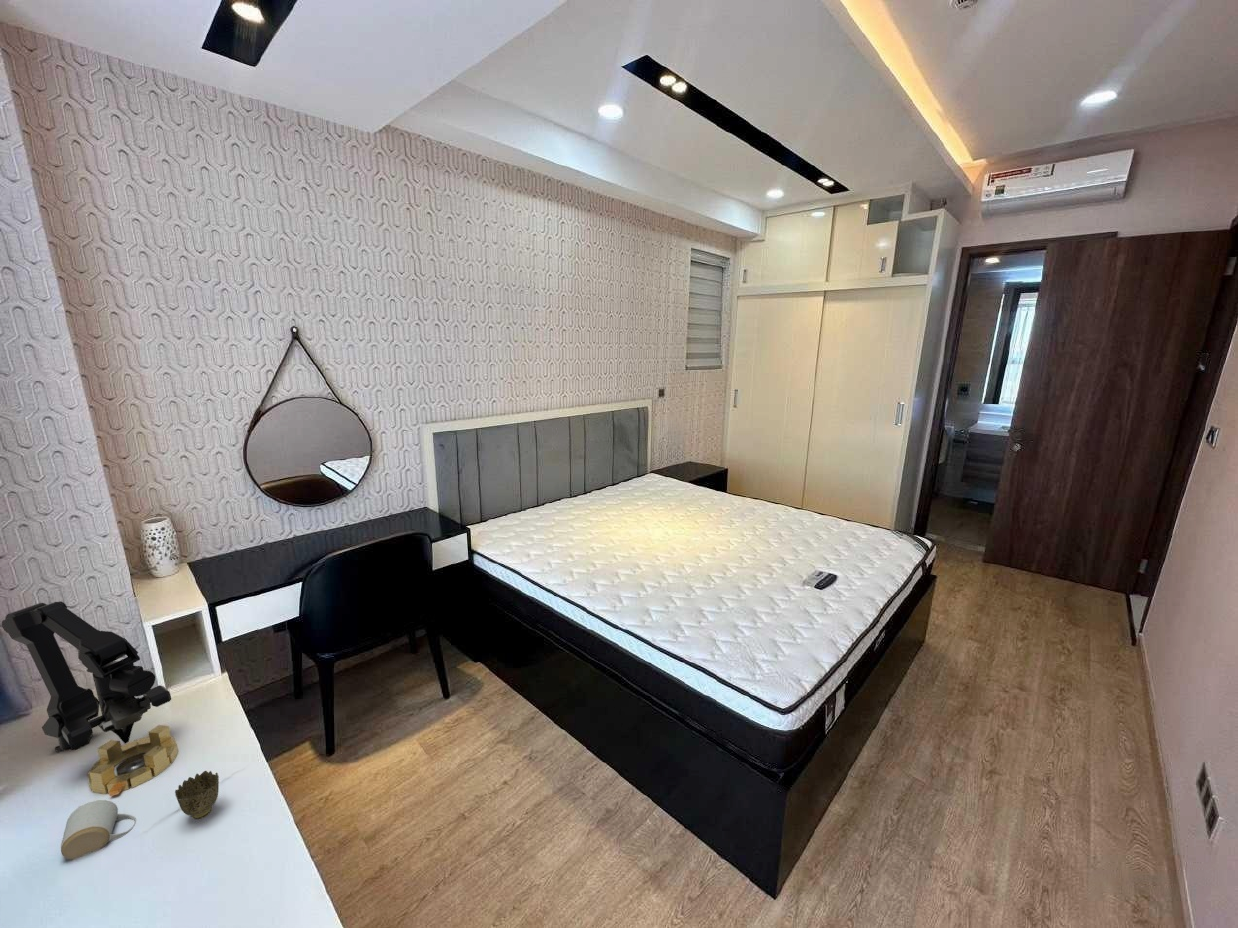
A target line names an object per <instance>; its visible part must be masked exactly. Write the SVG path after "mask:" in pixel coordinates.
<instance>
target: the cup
mask: <svg viewBox="0 0 1238 928" xmlns="http://www.w3.org/2000/svg"><path fill="white" fill-rule="evenodd" d="M219 778H220V777H219V773H218V772H216V773H215V774H214V773H213V772H212V770H210V771H209V772H208V770H204V771H203V772H202V773H200V775H199V773H196V774H195V775H194V777H191V776H189V777H188V778H187V780H185V779H183V782H182V785H181V784H179V785H178V786H177V787H178V789H175V791H174V795H175V798H176V800H177V803H178V805H179V807H180V809H181V811H182V813H183V814H185V815H187V816H190V817H191V818H192V819H194V820H201V819H203V818H205V817H207V816H208V815H210V813H211V812H212V811H213V810H212V809H213V806H214V805H215V804H216V802H217V800H218V797H219V790H220V789H219V787H220V786H219V782H220V781H219Z"/></svg>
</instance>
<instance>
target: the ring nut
mask: <svg viewBox="0 0 1238 928" xmlns="http://www.w3.org/2000/svg"><path fill="white" fill-rule="evenodd" d="M178 752H179V749H178V743H177V742H176V740H175V738H174V736H171V729H170V726H169V725H162V724H158V725H157V726H155V727H154V728H152V729H151V730H149V731H148V736H147V737H146V736H145V737H141V738H139V739H138V740H137V739H135V740H132V741H129V742H128V743H126V744H125V743H124V744H123V745H122V743H121V741H120V740H116V739H110V740H108V741H106V742H105V743H104V744H102V745H101V746H99V747H97V753H98V758H99V759H98V761H96V762H95V763H93V766H92V767H91V768H90V769H89V771H88V772H87V774H86V775H87V781H88V784H89V787H90V791H91V792H92V793H97V794H101V795H102V794H103V795H107V794H108V796H109V797H112V796H116V795H119V794H120V792H123V791H128V790H130V788H132V789H133V788H136V787H137V786H140V785H142V784H144V783H146V782H148V781H150V780H152V779H153V777H157V776H158V775H160V774H161V773H162V772H163V771H165V770H167V768H169V767H170V766H171V764H173V763H174V761H175V758H176V757H177V756H178V755H179V753H178ZM140 753H146V754H144V760H145V765H146V766H144V767H142V768H140V769H137V770H135V771H133V772H131V773H127V774H122V775H116V772H115V768H114V767H115V766H118V765H119V764H120V763H122V762H123V761H124V760H126V759H128V758H129V757H132V756H134V755H137V754H140Z"/></svg>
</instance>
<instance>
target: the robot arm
mask: <svg viewBox="0 0 1238 928" xmlns="http://www.w3.org/2000/svg"><path fill="white" fill-rule="evenodd" d="M1 626H2V629H3V631H4V632H5V633H7V634H8V635H9V636H10V638H11V639H12V640H14V641H16V642H19V643H20V644H23V645H25V646H26V647H27V650H28V652H29V654H30V656H31V658H32V661H33V663H34V665H35V666H36V668H37V671H38V672H39V676H40V677H41V678H42V680H43V683H44V685H45V687H46V689H47V692H48V693H49V697H50V699H49V701H48V705H47V708H46V713H47V715H48V718H47V720H46V721H45V723H43V725H42V727H41V729H42V731H43V733H44V735H45V736H49V737H51V738H52V737H53V738H55V739H57V740H58V746H55V747H54V750H55V752H57V753H58V754H60V753H61V752H63V751H69V750H71V751H73V750H74V751H76V750H78V749H81V748H83V747H85V746H87V745H89V744H90V742H91V739H92V737H94V734H93V733H94V732H93V729H94V728H97V727H99V728H100V729H101V730H102V731H103V732H104V733H107V732H110V731H111V732H112V733H114V734H116V736H117V737H118V738H119V739H120V740H121V741H122V742H123V743H124V745H125V744H127V743H130V738H131V735H132V730H133V727H134V724H135V723H137V722H139V721H141V720H142V717H143V716H144V715H143V714H145V713H147V712H148V710H151V707H155V708H157V707H160V706H163V705H165V704H167V703H169V702H171V701H172V696H171V695H172V694H171V692H170V691H169V690H168V689H167V688H166V687H165V686H164V685H161V684H160V685H158V686H155V687H153V686H154V685H155V682H156V675H155V674H154V673H153V671H151V670H147V669H144V668H143V666H140V665H134V663H137V662H138V661H141V658H140V656H139V655H138V653H139V651H138V650H136V648H135V647H134V646H133V645H132V644H131V643H130V642H129V641H128V640H127V639H126V638H125V637H123V636H121V635H120V634H117V633H115V632H113V631H110V630H109V631H108V630H99V629H97V628H95V626H93V625H92V624H90V623H89V622H87V620H84V619H83V618H82V617H80V616H78V614H76V613H74V612H73V611H71V610H70V609H69V608H68V606H67V604H66V603H65V602H64V601H54V602H50V603H49V604H47V603H45V602H38V603H35V604H33V605H30V606H27V607H24V608H21V609H18V610H15V611H12V612H9V613H7V614H6V616H5V619H3V620H2V621H1ZM55 634H56V635H57V636H59V637H60V638H61V639H63V640H65V641H66V642H67V643H69V644H70V645H71V646H73V647H74V648H75V649H76V650H78V653H77V655H78V657H77V658H78V660H80V661H81V663H82V665H83V666H84V667H85V668H86V672H87V673H91V674H92V679H93V683H94V687H95V691H96V695H97V697H96V696H95V694H94V692H93V690H92V689H91V688H84V687H81V686H79V684H78V683H77V681H76V678H75V677H74V674H73V673H72V671H71V668H70V666H69V664H68V662H67V660H66V658H65V656H64V653H63V651H62V650H61V647H60V645H59V643H58V641H57V639H56V637H55ZM125 656H126V657H125ZM119 659H120V660H119ZM118 660H119V661H118ZM140 696H142V697H140ZM136 697H137V698H136ZM99 710H100V711H101V715H100V716H99V713H100V711H99Z"/></svg>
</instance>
